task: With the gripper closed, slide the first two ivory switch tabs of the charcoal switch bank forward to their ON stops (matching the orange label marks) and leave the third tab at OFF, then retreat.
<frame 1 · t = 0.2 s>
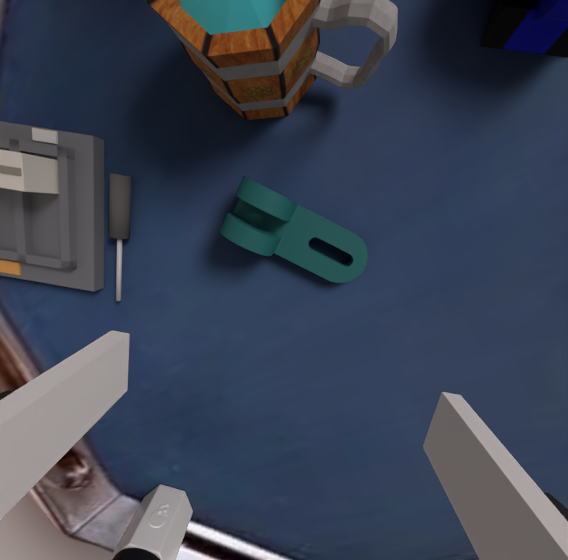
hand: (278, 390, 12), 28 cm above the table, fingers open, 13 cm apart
mug: (286, 68, 34), on the table
jar: (169, 502, 51), on the table
switch bank: (26, 205, 39), on the table
bracket: (301, 235, 38), on the table
screwdriver: (125, 229, 39), on the table
tab 3: (26, 172, 34), point 5 cm above the table, slide at 0.0 cm
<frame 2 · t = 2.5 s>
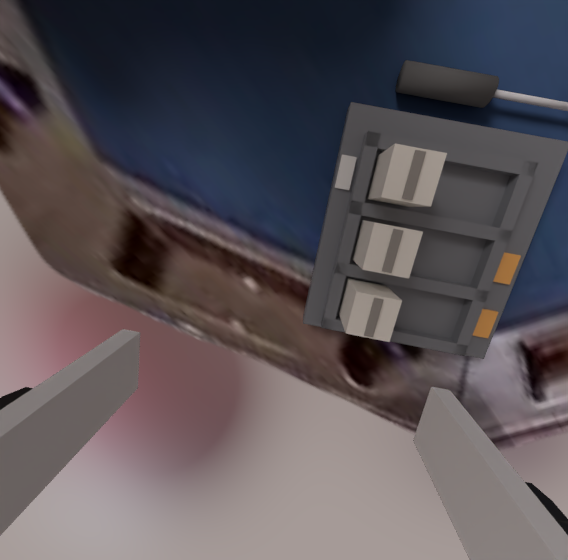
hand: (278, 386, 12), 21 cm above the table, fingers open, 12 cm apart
switch bank: (415, 240, 30), on the table
tab 2: (384, 247, 26), point 5 cm above the table, slide at 0.0 cm
screwdriver: (470, 95, 27), on the table
tab 3: (402, 178, 25), point 5 cm above the table, slide at 0.0 cm
tab 1: (367, 308, 28), point 5 cm above the table, slide at 0.0 cm
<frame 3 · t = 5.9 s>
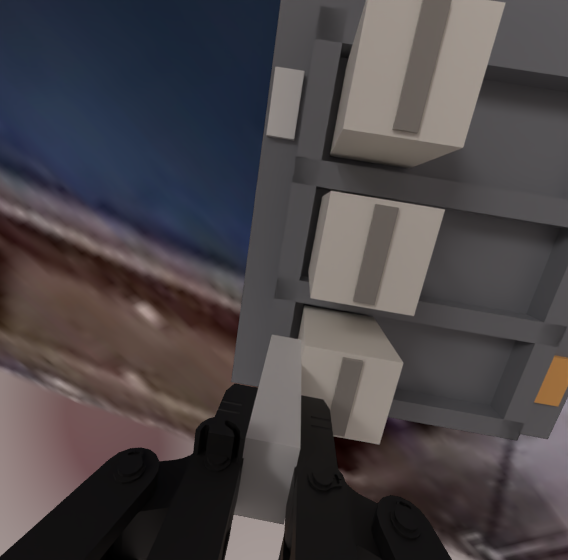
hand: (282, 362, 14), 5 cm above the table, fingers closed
switch bank: (423, 233, 17), on the table
tab 2: (361, 247, 13), point 5 cm above the table, slide at 0.0 cm
tab 3: (395, 98, 11), point 5 cm above the table, slide at 0.0 cm
tab 1: (336, 366, 14), point 5 cm above the table, slide at 0.1 cm, touching gripper
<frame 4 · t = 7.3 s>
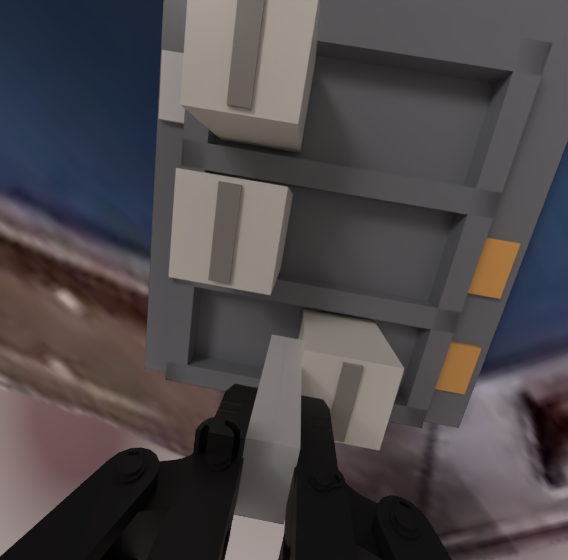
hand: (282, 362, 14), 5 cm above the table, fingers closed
switch bank: (332, 220, 17), on the table
tab 2: (239, 229, 13), point 5 cm above the table, slide at 0.0 cm
tab 3: (258, 78, 11), point 5 cm above the table, slide at 0.0 cm
tab 1: (336, 370, 14), point 5 cm above the table, slide at 5.7 cm, touching gripper
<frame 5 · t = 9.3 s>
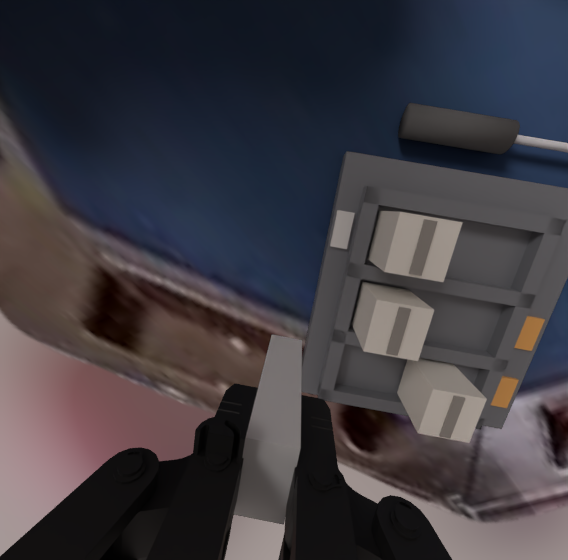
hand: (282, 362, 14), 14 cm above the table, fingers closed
switch bank: (423, 297, 27), on the table
tab 2: (387, 318, 23), point 5 cm above the table, slide at 0.0 cm
screwdriver: (484, 139, 23), on the table
tab 3: (408, 243, 21), point 5 cm above the table, slide at 0.0 cm
tab 1: (436, 396, 24), point 5 cm above the table, slide at 5.7 cm
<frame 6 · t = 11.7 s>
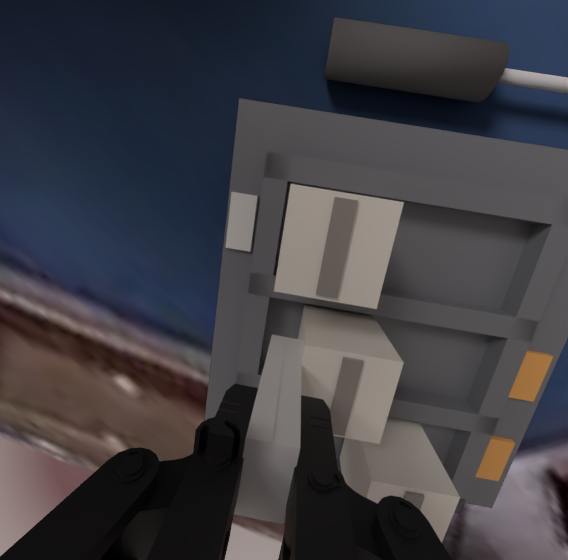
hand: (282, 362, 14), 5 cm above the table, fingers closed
switch bank: (375, 320, 19), on the table
tab 2: (336, 365, 14), point 5 cm above the table, slide at 1.6 cm, touching gripper
screwdriver: (457, 81, 15), on the table
tab 3: (329, 241, 13), point 5 cm above the table, slide at 0.0 cm
tab 1: (388, 475, 16), point 5 cm above the table, slide at 5.7 cm
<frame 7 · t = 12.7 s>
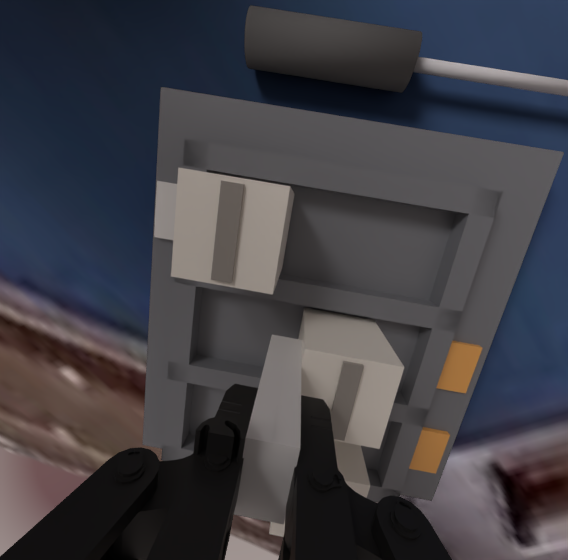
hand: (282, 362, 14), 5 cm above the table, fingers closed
switch bank: (314, 312, 19), on the table
tab 2: (336, 369, 14), point 5 cm above the table, slide at 5.6 cm, touching gripper
screwdriver: (383, 71, 15), on the table
tab 3: (241, 229, 13), point 5 cm above the table, slide at 0.0 cm
tab 1: (315, 465, 16), point 5 cm above the table, slide at 5.7 cm
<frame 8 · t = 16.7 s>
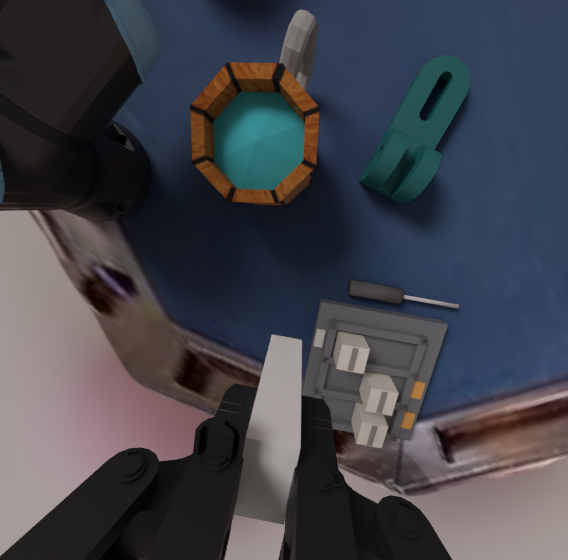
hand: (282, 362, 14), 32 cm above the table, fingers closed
mug: (279, 141, 42), on the table
switch bank: (365, 368, 49), on the table
bracket: (411, 133, 41), on the table
tab 2: (377, 392, 45), point 5 cm above the table, slide at 5.7 cm
screwdriver: (391, 292, 46), on the table
tab 3: (350, 351, 44), point 5 cm above the table, slide at 0.0 cm
tab 1: (368, 423, 46), point 5 cm above the table, slide at 5.7 cm
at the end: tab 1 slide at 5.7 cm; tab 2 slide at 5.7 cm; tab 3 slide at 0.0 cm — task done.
